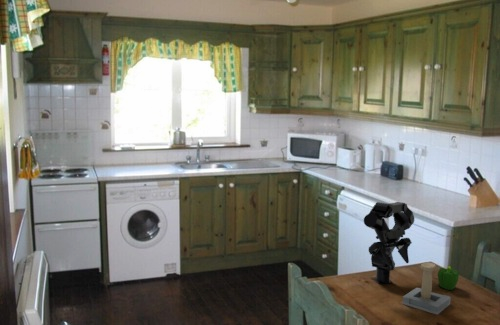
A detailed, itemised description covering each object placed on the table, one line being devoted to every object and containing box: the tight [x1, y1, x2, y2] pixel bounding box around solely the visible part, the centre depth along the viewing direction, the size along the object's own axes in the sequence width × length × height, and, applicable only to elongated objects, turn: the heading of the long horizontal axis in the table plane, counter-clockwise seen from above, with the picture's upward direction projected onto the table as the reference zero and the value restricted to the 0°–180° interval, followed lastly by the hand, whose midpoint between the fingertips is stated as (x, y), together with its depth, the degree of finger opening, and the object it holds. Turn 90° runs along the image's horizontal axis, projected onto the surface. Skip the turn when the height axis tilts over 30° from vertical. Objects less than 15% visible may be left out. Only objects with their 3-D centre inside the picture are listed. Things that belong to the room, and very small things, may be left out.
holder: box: [402, 287, 452, 315], centre depth 200 cm, size 14×13×3 cm
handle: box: [420, 261, 436, 301], centre depth 199 cm, size 5×6×15 cm
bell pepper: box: [437, 265, 460, 291], centre depth 216 cm, size 8×8×10 cm
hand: (399, 264), depth 205 cm, fingers open, 9 cm apart
